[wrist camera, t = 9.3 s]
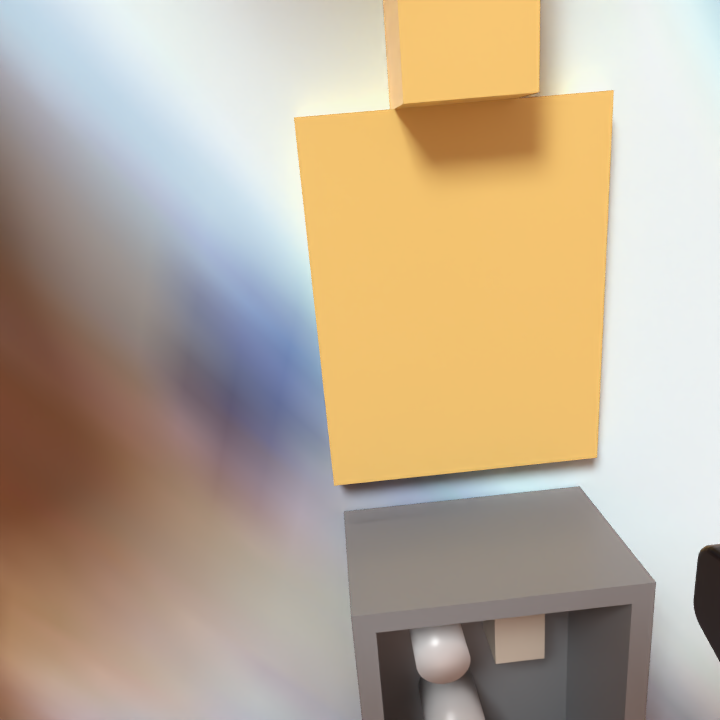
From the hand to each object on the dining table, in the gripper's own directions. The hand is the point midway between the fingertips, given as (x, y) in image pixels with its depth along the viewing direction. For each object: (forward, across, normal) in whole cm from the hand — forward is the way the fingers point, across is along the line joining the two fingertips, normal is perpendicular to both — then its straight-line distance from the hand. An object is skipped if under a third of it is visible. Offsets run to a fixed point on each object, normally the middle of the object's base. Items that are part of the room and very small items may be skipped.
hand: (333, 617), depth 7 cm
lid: (+12, -4, -3) cm, 13 cm away
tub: (+12, -4, +11) cm, 17 cm away
